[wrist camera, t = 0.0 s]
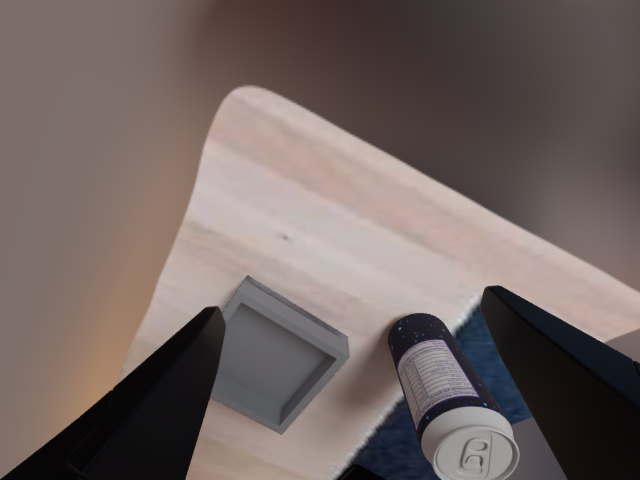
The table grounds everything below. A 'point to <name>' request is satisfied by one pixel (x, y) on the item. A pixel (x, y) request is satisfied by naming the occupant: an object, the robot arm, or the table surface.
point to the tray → (274, 356)
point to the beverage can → (450, 403)
